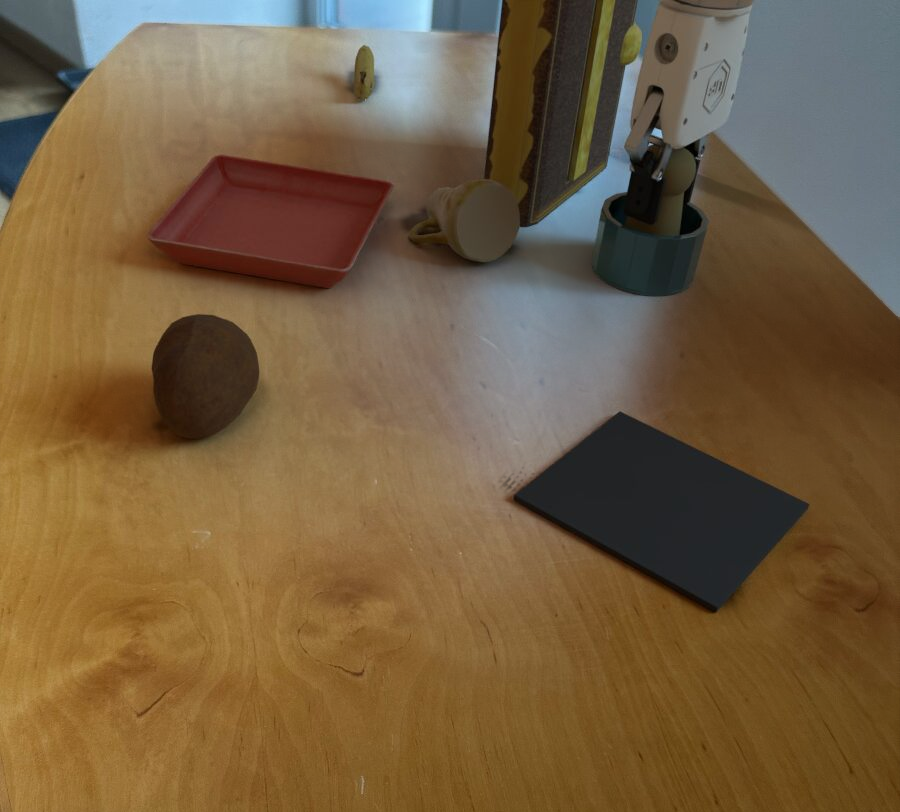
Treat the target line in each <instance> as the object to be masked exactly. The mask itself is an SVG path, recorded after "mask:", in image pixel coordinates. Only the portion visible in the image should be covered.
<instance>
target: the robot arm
mask: <svg viewBox="0 0 900 812" xmlns="http://www.w3.org/2000/svg"><path fill="white" fill-rule="evenodd" d="M658 1H659V3H658V5H657V9H656V11H655V14H654V18H653V20H652V25H651V28H650V31H649V35H648V38H647V42H646V44H645V50H644V53H643V57H642V61H641V65H640V69H639V74H638V77H637V82H636V87H635V90H634V95H633V100H632V105H631V113H630V122H629V124H630V125H629V126H630V132H629V134H628V135H627V138H626V140H625V142H624V150H625V152H626V153H627V155H628V157H629V159H628V160H629V162H630V164H629V172H630V176H629V181H628V185H627V190H626V192H627V195H626V200H625V205H624V210H623V211H624V214H625V215H626V216H629V217H631V218H634V219H637V220H639V221H642V222H644V223H647V224H649V225H653V224H654V223H656V222H657V219H658V215H659V211H660V206H661V202H662V198H663V193H664V189H665V185H666V180H667V179H664V178H662V177H663V174H664V172H665V169H666V166H667V163H668V160H669V157H670V155H671V152H672V149H673V148H674V149H680V148H685V149H687V150H688V151H689V152H690V153H691V154H692V155H693V156H694V159H695V163H696V173H695V176H694V179H693V181H692V183H691V185H690V186H689V188H688V189H687V190H686V191H685V192H684V198H683V204H684V205H685V204H687V203H689V202H691V200H692V197H693V192H694V188H695V184H696V180H697V177H698V172H699V168H700V163H701V158H702V157H703V155H704V154H705V151H706V147H707V137H708V136H709V134H711V133H713V132H715V131H717V130H718V129H720V128H722V126H724V125H725V124H726V123H727V121H728V120H729V118H730V115H731V111H732V107H733V103H734V99H735V95H736V90H737V86H738V82H739V77H740V72H741V67H742V62H743V58H744V52H745V48H746V42H747V37H748V30H749V24H750V23H749V21H750V14H751V11H752V9H753V5H754V1H755V0H658ZM655 129H657V130H659V131H660V132H661V136H657V135H654V134H653V132H654V130H655ZM650 145H656V146H659V147H661V149H660V152H659V155H658V158H657V161H656V158H655V155H654V153H653V152H652V151H649V149H648V148H649V147H648V146H650Z"/></svg>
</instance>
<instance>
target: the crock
mask: <svg viewBox="0 0 900 812" xmlns="http://www.w3.org/2000/svg"><path fill="white" fill-rule="evenodd" d="M626 195H627V191H623V192H618V193H614V194H613V195H610V196H609V197H607V198H606V199H605V200H604V201H603V204H602V207H601V209H600V215H599V221H598V226H597V231H596V232H597V233H596V236H595V242H594V246H593V252H592V258H591V266H592V270H593V271H594V274H596V276H597V277H598V278H600V279H601V280H602V281H603V282H604V283H606V284H608V285H610V286H612V287H614V288H616V289H618V290H621V291H623V292H626V293H631V294H635V295H639V296H647V297H649V296H650V297H664V296H671V295H676V294H679V293H681V292H684V291H685V290H687V289H688V288H690V287H691V285H692V284H693V282H694V279H695V276H696V275H695V274H696V271H697V269H698V268H697V267H698V263H699V260H700V256H701V252H702V249H703V244H704V241H705V238H706V234H707V230H708V226H709V223H710V222H709V221H710V220H709V218H708V217H707V215H706V213H705V212H704V210H702V209H701V208H700V207H698V206H696V205H695V204H694V203H692V202H691V201H690V202H689V203H687V204H685V205H684V204H683V207H682V216H681V225H680V234H679V236H657V235H652V234H647V233H642V232H638V231H636V230H633V229H631V228H628V227H626V226H624V224H625V221H626V218H627V216H626V215H625V214H624V211H623V210H624V205H625V200H626Z"/></svg>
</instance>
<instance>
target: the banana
mask: <svg viewBox="0 0 900 812" xmlns="http://www.w3.org/2000/svg"><path fill="white" fill-rule="evenodd" d="M374 86H375V57H374V53H373V51H372V49H371V48H370V46H369V45H364V44H363V45H362V46H361V47H359V49H358V51H357V54H356V56H355V60H354V72H353V95H354V96H355V97H356V98H357V99H358V100H359V99H360V100H363V101H366V100H368V99H370V97H371V95H372V93H373V91H374V88H375V87H374ZM365 99H366V100H365ZM360 100H359V101H360Z"/></svg>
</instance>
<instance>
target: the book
mask: <svg viewBox="0 0 900 812" xmlns="http://www.w3.org/2000/svg"><path fill="white" fill-rule="evenodd" d="M638 1H639V0H501V9H500V17H499V18H500V20H499V28H498V38H497V48H496V56H495V67H494V68H495V69H494V77H493V87H492V96H491V105H490V115H489V124H488V125H489V127H488V135H487V144H486V145H487V146H486V154H485V155H486V156H485V163H484V173H483V179H488V180H493V181H496V182H498V183H500V184H502V185H504V186H505V187H507V188H508V189H509V190H510V191H511V192H512V194H513V195H514V197H515V198H516V200H517V204H518V207H519V213H520V227H526V228H527V227H531V226H534V225H538V224H539V223H540V222H542V221H543V220H544V219H545V218H547V217H548V216H549V215H550V214H552V212H554V211H555V210H556V209H558V208H559V207H560V206H562V204H564V203H565V202H566V201H568V200H569V199H570V198H571V197H572V196H574V195H575V194H576V193H578V192H579V191H580V190H581V189H583V188H584V187H585V186H586V185H587V184H589V183H590V182H591V181H592V180H593V179H595V178H596V177H597V176H598V175H600V174H601V173H602V172H604V171H605V170H606V169H607V168H606V167H608V162H609V157H610V152H611V146H612V142H613V141H612V140H613V135H614V130H615V125H616V119H617V114H618V108H619V103H620V97H621V94H622V93H621V92H622V89H623V88H622V87H623V83H624V82H623V81H624V77H625V71H626V67H627V66H628V65H631V64H632V63H634V62H635V61H636V60H637V57H638V55H639V53H640V52H641V47H642V41H643V35H642V34H643V33H642V29H641V28H640V27H639V25H637V23H636V22H635V17H636V12H637V7H638ZM605 168H606V169H605ZM604 169H605V170H604ZM600 172H601V173H600ZM599 173H600V174H599ZM588 182H589V183H588ZM583 186H584V187H583Z"/></svg>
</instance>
